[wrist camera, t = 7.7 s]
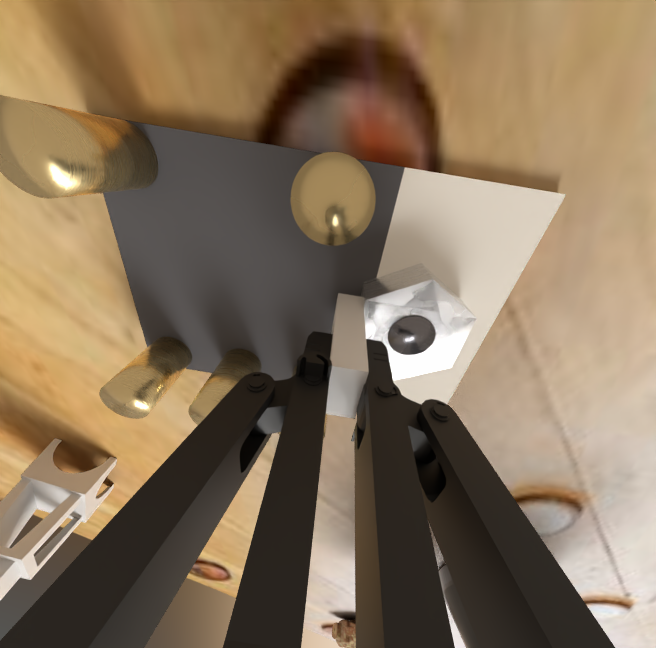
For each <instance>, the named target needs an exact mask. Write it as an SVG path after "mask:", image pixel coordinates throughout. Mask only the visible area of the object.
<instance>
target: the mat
mask: <svg viewBox="0 0 656 648" xmlns="http://www.w3.org/2000/svg"><path fill="white" fill-rule="evenodd" d="M125 121H127V120H125ZM127 122H130V123H131V124H133V125H135V126H136V127H137V128H139V129H140V130H141V131H142V132H143V133H144V134H145V135H146V137H147V138H148V139H149V141H150V142H151V144H152V146H153V148H154V150H155V153H156V156H157V160H158V174H157V178H156V180H155V181H154V183H153V184H152V185H151V186H149V187H147V188H143V189H134V190H124V191H115V192H105V193H103V194H104V198H105V201H106V205H107V208H108V212H109V215H110V219H111V222H112V226H113V229H114V233H115V236H116V240H117V243H118V247H119V250H120V254H121V257H122V261H123V264H124V267H125V271H126V274H127V278H128V281H129V285H130V288H131V292H132V295H133V299H134V302H135V306H136V309H137V313H138V316H139V320H140V323H141V327H142V330H143V334H144V337H145V341H146V344H147V348H148V347H149V346H150V345H151V344H152V343H153V342H154V341H155V340H157V339H158V338H160V337H172V338H175V339H177V340H179V341H181V342H183V343H184V344H185V345H186V346H187V347H188V348H189V350H190V351H191V354H192V361H191V363H190V364H189V365H188V367H187V368H186V369H192V370H198V371H204V372H210V373H213V371H214V370H215V369H216V367H217V366H218V364H219V363H220V361H221V360H222V358H223V357H224V355H225V354H226V353H227V352H228V351H230V350H232V349H245V350H247V351H250V352H252V353H253V354H254V355H256V356H257V357H258V359H259V360H260V362H261V371H260V372H262V373H266V374H268V375H270V376H271V377H272V378H273V379H274V381H276V380H284V379H288V378H291V377H292V374H293V370H294V368H295V367H296V365H297V360H298V358H299V357H300V356H301V355H302V354H303V353H304V349H305V346H306V342H307V338H308V336H309V335H310V334H311V333H312V332H313V331H317V332H323V333H329V334H331V332H332V326H333V320H334V314H335V309H336V303H337V297H338V293H341V294H347V295H353V296H360V297H361V293H362V288H363V284H364V282H366V281H369V280H372V279H375V278H378V277H381V276H384V275H387V274H390V273H393V272H396V271H399V270H402V269H405V268H408V267H411V266H414V265H417V264H420V263H422V264H423V265H424V266H425V267H426V268H427V269H429V270H430V271H431V272H432V273H433V274H434V275H435V276H436V277H437V278H439V279H440V280H441V281H442V282H443V283H444V284H445V285H446V286H447V287H448V288H450V289H451V290H452V291H453V292H454V293H455V294H456V295H457V296H458V297H459V298H460V299H461V300H462V301H463V302H464V303H465V305H466V306H467V307H468V308H469V310H470V311H471V312H472V313H473V314H474V316H475V317H476V318H477V319H476V321H475V323H474V325H473V327H472V329H471V331H470V333H469V335H468V336H467V338H466V340H465V342H464V344H463V346H462V348H461V350H460V352H459V354H458V356H457V358H456V359H455V361H454V363H453V365H452V367H451V368H447V369H442V370H438V371H433V372H429V373H424V374H420V375H415V376H411V377H406V378H402V379H398V380H393V383H394V384H395V385H396V386H397V387H398V388H399V390H400V392H401V395H403V396H404V397H406V398H408V399H410V400H412V401H414V402H417V403H419V404H421V405H422V403H423V402H424V401H425V400H429V399H435V400H439V401H441V402H444V403H445V404H447V403H448V402H449V400H450V398H451V396H452V395H453V393H454V391H455V389H456V388H457V386H458V384H459V382H460V381H461V379H462V377H463V375H464V374H465V372H466V370H467V368H468V366H469V365H470V363H471V361H472V359H473V358H474V356H475V354H476V352H477V351H478V349H479V347H480V345H481V344H482V342H483V340H484V338H485V337H486V335H487V333H488V331H489V330H490V328H491V326H492V324H493V322H494V321H495V319H496V317H497V315H498V314H499V312H500V310H501V308H502V307H503V305H504V303H505V301H506V300H507V298H508V296H509V294H510V293H511V291H512V289H513V287H514V285H515V284H516V282H517V280H518V278H519V277H520V275H521V273H522V271H523V270H524V268H525V266H526V264H527V263H528V261H529V259H530V257H531V256H532V254H533V252H534V250H535V248H536V247H537V245H538V243H539V241H540V240H541V238H542V236H543V234H544V233H545V231H546V229H547V227H548V226H549V224H550V222H551V220H552V219H553V217H554V215H555V213H556V212H557V210H558V208H559V206H560V204H561V203H562V201H563V199H564V197H565V196H566V194H561V193H555V192H549V191H543V190H537V189H531V188H525V187H519V186H513V185H507V184H501V183H495V182H489V181H484V180H478V179H472V178H466V177H460V176H454V175H448V174H442V173H436V172H430V171H424V170H418V169H412V168H406V167H400V166H394V165H388V164H382V163H376V162H370V161H365V160H359V159H357V160H358V161H359V162H360V163H361V164H362V165H363V166H364V167H365V168H366V170H367V171H368V173H369V175H370V177H371V179H372V181H373V184H374V188H375V196H376V201H375V210H374V213H373V216H372V219H371V221H370V223H369V225H368V226H367V228H366V229H365V230H364V232H363V233H362V234H361V235H360V236H358V237H357V238H356V239H354V240H353V241H351V242H349V243H346V244H343V245H338V246H329V245H323V244H320V243H317V242H315V241H314V240H312V239H310V238H309V237H308V236H307V235H305V234H304V233H303V231H302V230H301V229H300V228H299V226H298V225H297V223H296V221H295V219H294V216H293V213H292V209H291V189H292V185H293V182H294V179H295V177H296V175H297V173H298V172H299V170H300V169H301V167H302V166H303V165H304V164H305V163H306V162H307V161H309V160H310V159H311V158H313V157H315V156H317V155H319V154H322V153H317V152H311V151H305V150H299V149H293V148H287V147H281V146H275V145H269V144H263V143H257V142H251V141H246V140H240V139H234V138H228V137H222V136H216V135H210V134H204V133H198V132H192V131H186V130H180V129H174V128H168V127H162V126H156V125H150V124H144V123H138V122H132V121H127Z"/></svg>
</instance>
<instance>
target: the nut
mask: <svg viewBox="0 0 656 648" xmlns="http://www.w3.org/2000/svg"><path fill="white" fill-rule="evenodd" d="M361 297H363V307H364V318H365V330H366V339H370V340H376V341H382V342H383V344H384V345H385V346H386V348H387V351H388V357H389V362H390V367H391V372H392V377H393V380H398V379H402V378H406V377H411V376H415V375H420V374H424V373H429V372H433V371H438V370H442V369H447V368H451V367H452V365H453V363H454V361H455V359H456V358H457V356H458V354H459V352H460V350H461V348H462V346H463V344H464V342H465V340H466V338H467V336H468V335H469V333H470V331H471V329H472V327H473V325H474V323H475V321H476V319H477V318H476V317H475V316H474V314H473V313H472V312H471V311H470V310H469V308H468V307H467V306H466V305H465V303H464V302H463V301H462V300H461V299H460V298H459V297H458V296H457V295H456V294H455V293H454V292H453V291H452V290H451V289H450V288H448V287H447V286H446V285H445V284H444V283H443V282H442V281H441V280H440V279H439V278H437V277H436V276H435V275H434V274H433V273H432V272H431V271H430V270H429V269H427V268H426V267H425V266H424V265H423V264H422V263H420V264H417V265H414V266H411V267H408V268H405V269H402V270H399V271H396V272H393V273H390V274H387V275H384V276H381V277H378V278H375V279H372V280H369V281H366V282H364V284H363V288H362V293H361Z"/></svg>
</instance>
